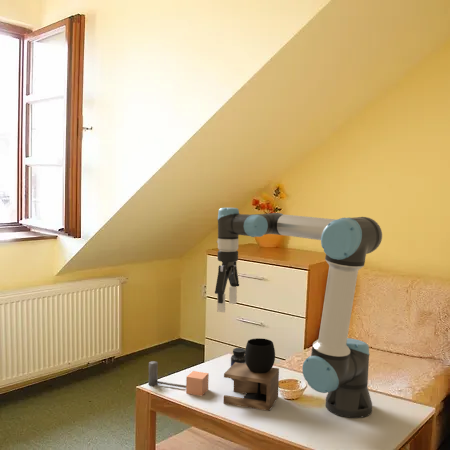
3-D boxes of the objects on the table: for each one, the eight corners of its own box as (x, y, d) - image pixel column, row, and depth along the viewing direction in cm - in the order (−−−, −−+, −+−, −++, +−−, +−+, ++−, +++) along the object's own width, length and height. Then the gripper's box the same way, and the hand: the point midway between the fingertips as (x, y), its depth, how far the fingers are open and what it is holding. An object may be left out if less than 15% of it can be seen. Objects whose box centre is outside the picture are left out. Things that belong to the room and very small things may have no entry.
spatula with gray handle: (208, 389, 188) (208, 367, 187) (202, 395, 182) (202, 373, 181) (152, 380, 195) (153, 359, 194) (145, 386, 189) (145, 364, 189)
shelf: (278, 396, 182) (279, 368, 182) (269, 410, 171) (270, 380, 170) (234, 390, 188) (235, 362, 187) (223, 403, 176) (224, 373, 175)
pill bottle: (228, 375, 201) (228, 347, 200) (243, 374, 203) (244, 346, 202) (233, 381, 195) (234, 352, 194) (248, 380, 197) (249, 351, 196)
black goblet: (258, 407, 174) (259, 348, 172) (237, 397, 182) (238, 341, 180) (280, 399, 180) (281, 343, 178) (259, 390, 188) (260, 335, 186)
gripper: (228, 245, 203) (228, 299, 205) (206, 253, 180) (205, 314, 181) (247, 246, 201) (246, 301, 203) (226, 255, 177) (226, 316, 179)
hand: (227, 307), depth 192 cm, fingers open, 13 cm apart
